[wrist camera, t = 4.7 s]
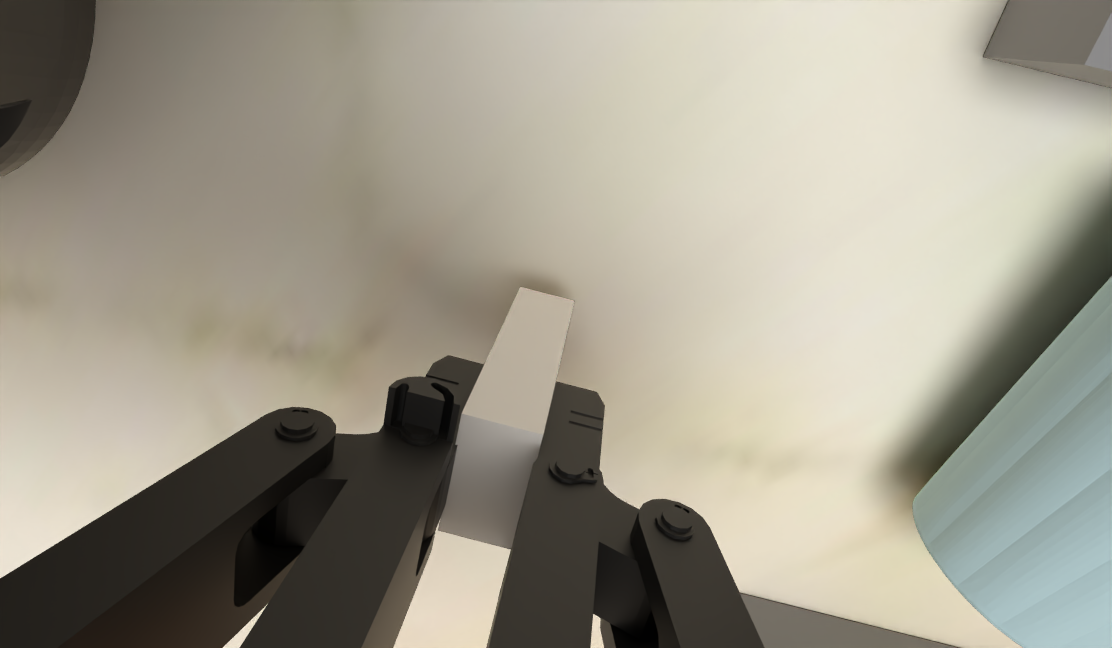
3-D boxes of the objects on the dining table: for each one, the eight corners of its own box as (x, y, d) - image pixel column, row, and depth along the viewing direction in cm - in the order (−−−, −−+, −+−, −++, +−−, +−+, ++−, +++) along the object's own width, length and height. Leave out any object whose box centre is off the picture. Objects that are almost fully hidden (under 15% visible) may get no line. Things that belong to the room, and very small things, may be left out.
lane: (724, 622, 24) (740, 727, 21) (1014, -11, 16) (1129, -24, 12) (1049, 703, 24) (1122, 823, 20) (1522, 111, 15) (1795, 136, 12)
